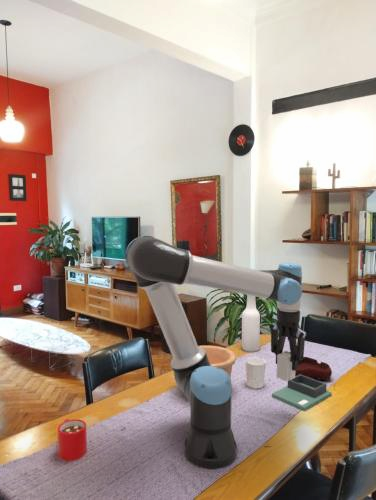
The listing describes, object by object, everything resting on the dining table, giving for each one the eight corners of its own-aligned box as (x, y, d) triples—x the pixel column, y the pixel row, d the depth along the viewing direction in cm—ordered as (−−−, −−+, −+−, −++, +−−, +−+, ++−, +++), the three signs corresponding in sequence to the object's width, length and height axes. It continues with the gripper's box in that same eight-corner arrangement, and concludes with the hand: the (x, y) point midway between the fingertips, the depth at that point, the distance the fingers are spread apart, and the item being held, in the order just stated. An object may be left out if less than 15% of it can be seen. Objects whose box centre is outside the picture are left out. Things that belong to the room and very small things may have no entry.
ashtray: (325, 368, 175) (325, 357, 175) (333, 383, 159) (333, 372, 159) (284, 365, 178) (284, 355, 177) (288, 381, 162) (288, 369, 161)
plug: (286, 381, 131) (287, 357, 131) (276, 377, 134) (277, 353, 134) (295, 377, 135) (296, 353, 134) (285, 373, 138) (286, 350, 137)
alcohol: (249, 345, 204) (250, 288, 201) (262, 349, 198) (264, 290, 195) (238, 348, 199) (238, 290, 196) (251, 353, 192) (252, 293, 189)
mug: (76, 434, 123) (76, 410, 122) (90, 454, 113) (90, 428, 112) (51, 443, 118) (50, 418, 118) (63, 464, 108) (62, 437, 108)
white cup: (264, 381, 161) (264, 357, 160) (266, 390, 153) (266, 365, 152) (244, 380, 162) (245, 356, 161) (245, 389, 154) (246, 364, 153)
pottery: (172, 400, 145) (172, 363, 143) (186, 376, 166) (186, 343, 164) (231, 407, 139) (231, 368, 138) (238, 381, 161) (238, 347, 159)
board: (304, 411, 137) (304, 399, 137) (271, 396, 148) (272, 385, 147) (331, 395, 149) (331, 384, 148) (299, 383, 159) (299, 373, 159)
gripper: (317, 312, 128) (314, 381, 130) (274, 303, 141) (272, 366, 143) (304, 316, 123) (301, 388, 126) (261, 306, 136) (259, 371, 138)
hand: (285, 376), depth 134 cm, fingers closed on plug, 4 cm apart
